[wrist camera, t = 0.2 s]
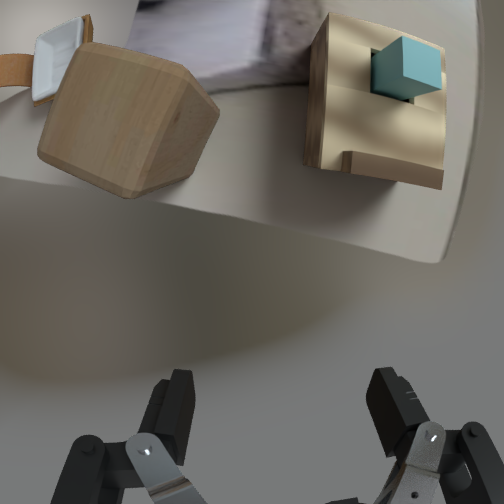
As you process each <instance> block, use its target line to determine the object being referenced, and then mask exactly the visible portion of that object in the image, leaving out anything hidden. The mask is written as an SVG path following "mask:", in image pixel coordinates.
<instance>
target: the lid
mask: <svg viewBox="0 0 504 504" xmlns="http://www.w3.org/2000/svg"><path fill="white" fill-rule="evenodd" d="M401 36H405V37H408V38H410V39H413V40H416V41H418V42H421V43H424V44H426V45H428V46H431V47H433V48H436V49H438V50H440V57H441V77H442V90H438V91H434V92H430V93H427V94H423V95H419V96H416V97H412V98H409V103H406V102H403V101H399V100H396V99H392V98H388V97H384V96H381V95H377V94H372V93H370V69H371V53H375V54H377V53H378V52H380V51H381V50H382V49H384V48H385V47H387V46H388V45H389V44H391V43H392V42H394V41H395V40H396V39H398V38H399V37H401ZM445 132H446V67H445V52H444V48H442V47H439V46H437V45H435V44H432V43H430V42H427V41H425V40H422V39H420V38H417V37H415V36H412V35H409V34H407V33H404V32H401V31H398V30H395V29H392V28H389V27H386V26H383V25H379V24H376V23H372V22H369V21H365V20H361V19H357V18H353V17H349V16H345V15H340V14H336V13H331V12H329V13H328V15H327V19H326V59H325V82H324V100H323V115H322V129H321V141H320V153H319V164H318V168H320V169H327V170H335V171H342V172H346V173H351V174H357V175H364V176H370V177H376V178H382V179H388V180H393V181H399V182H404V183H409V184H414V185H419V186H424V187H429V188H434V189H438V190H442V182H443V174H444V170H442V169H443V159H444V148H445Z"/></svg>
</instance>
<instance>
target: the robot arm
mask: <svg viewBox="0 0 504 504" xmlns="http://www.w3.org/2000/svg"><path fill="white" fill-rule="evenodd" d="M366 403H367V406H368V409H369V411H370V414H371V416H372V419H373V422H374V425H375V427H376V430H377V433H378V435H379V438H380V441H381V444H382V446H383V449H384V452H385V455H386V457H392V456H396V459H397V460H396V462H395V463H394V466H393V468H392V470H391V473H390V474H389V477H388V479H387V481H386V483H385V485H384V487H383V489H382V491H381V493H380V495H379V496H378V498H377V499H376V500H375V502H374V503H373V504H431V502H432V499H433V497H434V494H435V491H436V488H437V485H438V482H439V483H440V486H441V489H442V492H443V495H444V498H445V501H446V504H504V464H503V462H502V460H501V458H500V456H499V454H498V452H497V450H496V448H495V446H494V444H493V442H492V440H491V438H490V437H489V435H488V433H487V431H486V429H485V428H484V427H483V426H482V425H481V424H480V423H478V422H468V423H466V424H465V425H464V426H463V428H462V429H461V430H445V429H444V428H443V427H442V425H440V424H439V423H436V422H432V421H430V419H429V417H428V416H427V414H426V412H425V410H424V408H423V407H422V405H421V403H420V401H419V399H417V395H416V394H415V392H414V390H413V388H412V387H411V385H410V383H409V382H407V380H405V379H404V378H403V377H402V376H399V377H398V376H397V374H396V373H395V371H394V369H393V368H392V367H385V368H377V369H375V370H374V372H373V375H372V378H371V381H370V384H369V387H368V390H367V393H366ZM194 409H195V390H194V381H193V374H192V371H191V370H181V369H174V370H173V373H172V376H171V379H170V380H165V379H162V380H161V381H160V382H159V383H158V384H157V385H156V386H155V387H154V389H153V392H152V395H151V398H150V400H149V405H148V406H147V409H146V411H145V414H144V417H143V420H142V423H141V425H140V428H139V431H138V433H137V434H135V435H133V436H131V437H130V438H129V439H128V440H127V441H125V442H117V443H103V441H102V440H101V439H100V438H98V437H97V436H94V435H83V436H81V437H79V438H77V439H76V440H75V441H74V443H73V445H72V447H71V450H70V453H69V455H68V457H67V460H66V462H65V465H64V467H63V470H62V473H61V475H60V478H59V481H58V483H57V486H56V489H55V492H54V495H53V498H52V500H51V504H121V503H122V498H123V494H124V489H125V488H138V487H145V488H146V490H147V491H148V493H149V495H150V497H151V499H152V501H153V502H154V504H207V503H206V501H205V500H204V499H203V498H202V496H201V495H200V494H199V492H198V491H197V490H196V488H195V487H194V486H193V484H192V483H191V482H190V481H189V480H188V479H186V478H185V477H184V476H183V474H182V473H181V471H180V470H179V468H178V467H177V465H180V466H183V465H184V460H185V455H186V449H187V444H188V438H189V434H190V429H191V423H192V419H193V414H194ZM465 464H467V467H468V469H469V472H470V474H471V477H472V480H471V478H470V475H469V473H468V471H467V468H466V466H465ZM326 504H364V503H358V498H357V497H356V498H350V499H344V500H339V501H331V502H329V503H326Z"/></svg>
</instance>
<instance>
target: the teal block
mask: <svg viewBox="0 0 504 504" xmlns="http://www.w3.org/2000/svg"><path fill="white" fill-rule="evenodd" d="M438 90H442V77H441V57H440V50H438V49H436V48H433V47H431V46H428V45H426V44H424V43H421V42H418V41H416V40H413V39H410V38H408V37H405V36H401V37H399V38H398V39H396V40H395V41H394V42H392V43H391V44H389V45H388V46H387V47H385V48H384V49H382V50H381V51H380V52H378V53H377V54H376V55H374V56H373V57H372V58H371V69H370V93H372V94H377V95H381V96H384V97H388V98H392V99H396V100H399V101H402V100H405V99H409V98H412V97H416V96H419V95H423V94H427V93H430V92H434V91H438Z"/></svg>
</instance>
